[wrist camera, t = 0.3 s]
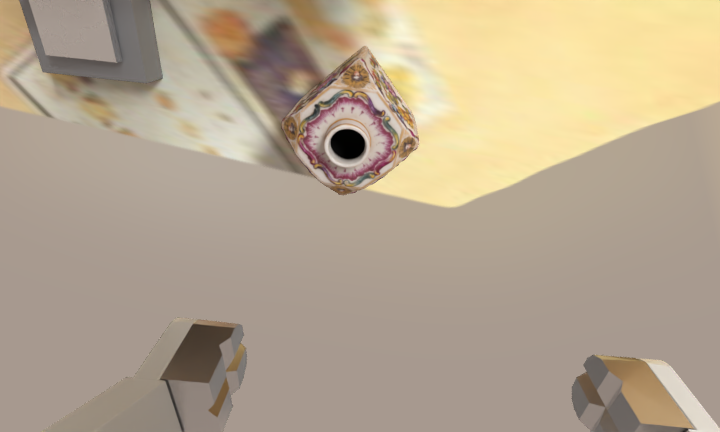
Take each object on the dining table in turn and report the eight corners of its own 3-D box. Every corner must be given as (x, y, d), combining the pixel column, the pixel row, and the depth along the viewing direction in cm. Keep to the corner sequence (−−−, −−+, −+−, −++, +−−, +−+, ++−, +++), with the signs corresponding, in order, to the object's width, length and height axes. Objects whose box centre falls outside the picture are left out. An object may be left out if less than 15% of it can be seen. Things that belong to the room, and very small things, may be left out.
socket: (30, -54, 45) (0, -58, 42) (142, -42, 45) (121, -46, 42) (65, 67, 52) (42, 72, 49) (162, 77, 52) (146, 83, 49)
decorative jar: (366, 42, 48) (357, 60, 33) (415, 113, 52) (428, 159, 37) (300, 97, 52) (263, 137, 37) (350, 160, 57) (336, 219, 41)
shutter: (27, -30, 43) (-6, -33, 39) (104, -22, 43) (78, -25, 39) (53, 53, 47) (25, 58, 44) (122, 61, 47) (100, 65, 44)
